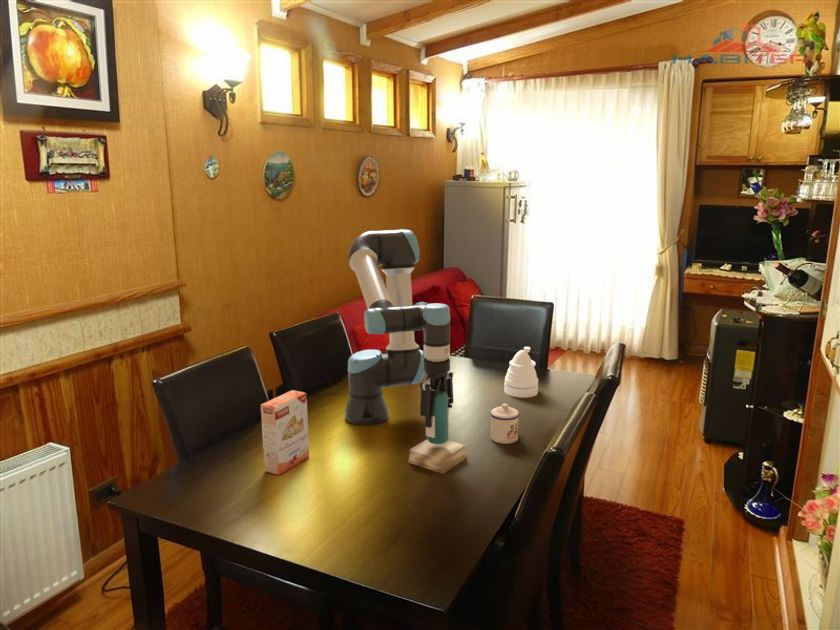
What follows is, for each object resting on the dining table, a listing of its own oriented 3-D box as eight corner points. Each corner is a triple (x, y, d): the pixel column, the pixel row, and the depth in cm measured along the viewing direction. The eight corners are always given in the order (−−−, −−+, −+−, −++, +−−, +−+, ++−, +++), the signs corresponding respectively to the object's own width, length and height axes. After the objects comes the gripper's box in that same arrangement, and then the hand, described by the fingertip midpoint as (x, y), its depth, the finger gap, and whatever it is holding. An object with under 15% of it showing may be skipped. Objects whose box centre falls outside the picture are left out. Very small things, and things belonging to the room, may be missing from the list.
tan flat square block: (408, 462, 185) (407, 450, 184) (432, 447, 195) (432, 435, 194) (443, 474, 178) (443, 461, 177) (466, 457, 188) (466, 445, 187)
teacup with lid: (511, 446, 195) (512, 411, 192) (485, 440, 199) (485, 406, 197) (526, 432, 205) (527, 399, 202) (500, 427, 209) (501, 394, 207)
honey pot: (543, 389, 244) (544, 345, 240) (530, 399, 233) (531, 353, 229) (512, 383, 251) (513, 340, 246) (498, 393, 240) (499, 348, 236)
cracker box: (279, 476, 178) (275, 407, 173) (263, 472, 181) (258, 404, 176) (311, 456, 190) (307, 391, 185) (295, 452, 193) (291, 388, 188)
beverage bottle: (451, 441, 187) (451, 378, 182) (443, 451, 181) (443, 385, 177) (432, 438, 190) (431, 375, 185) (422, 447, 184) (422, 382, 179)
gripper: (428, 369, 169) (428, 447, 175) (466, 351, 185) (465, 424, 190) (406, 364, 174) (407, 440, 179) (444, 347, 189) (445, 418, 194)
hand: (437, 432), depth 185 cm, fingers closed on beverage bottle, 6 cm apart
